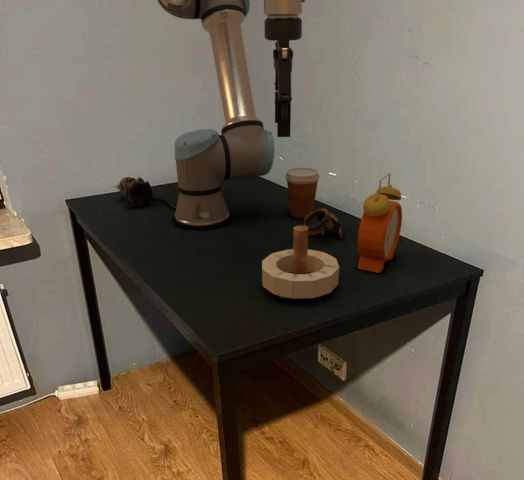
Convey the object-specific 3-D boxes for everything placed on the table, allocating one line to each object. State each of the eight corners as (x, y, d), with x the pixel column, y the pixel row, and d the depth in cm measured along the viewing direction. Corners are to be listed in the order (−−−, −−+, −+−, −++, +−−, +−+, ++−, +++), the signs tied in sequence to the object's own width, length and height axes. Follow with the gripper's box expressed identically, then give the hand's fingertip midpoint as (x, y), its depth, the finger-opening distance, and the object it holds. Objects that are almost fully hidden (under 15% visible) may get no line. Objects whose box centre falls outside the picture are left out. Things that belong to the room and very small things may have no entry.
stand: (279, 298, 114) (279, 236, 107) (277, 279, 122) (277, 220, 115) (322, 297, 114) (325, 235, 107) (318, 278, 122) (320, 219, 115)
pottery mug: (345, 245, 139) (332, 220, 133) (312, 258, 142) (297, 235, 137) (344, 217, 147) (331, 193, 141) (312, 230, 150) (298, 207, 145)
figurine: (123, 192, 158) (109, 173, 168) (133, 216, 164) (119, 197, 174) (150, 180, 160) (134, 162, 170) (159, 204, 166) (144, 186, 176)
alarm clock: (379, 276, 122) (390, 186, 111) (354, 271, 125) (361, 183, 114) (398, 255, 132) (409, 170, 121) (373, 250, 134) (382, 167, 124)
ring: (248, 288, 115) (248, 271, 113) (283, 260, 127) (283, 244, 125) (318, 305, 108) (319, 286, 106) (348, 273, 120) (349, 257, 118)
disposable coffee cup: (283, 209, 161) (283, 168, 154) (315, 208, 162) (316, 166, 155) (287, 220, 153) (287, 177, 146) (320, 219, 154) (322, 176, 147)
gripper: (307, 20, 99) (303, 143, 110) (297, 13, 119) (295, 117, 131) (265, 21, 98) (266, 143, 110) (263, 13, 119) (264, 117, 131)
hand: (282, 129), depth 121 cm, fingers open, 13 cm apart
